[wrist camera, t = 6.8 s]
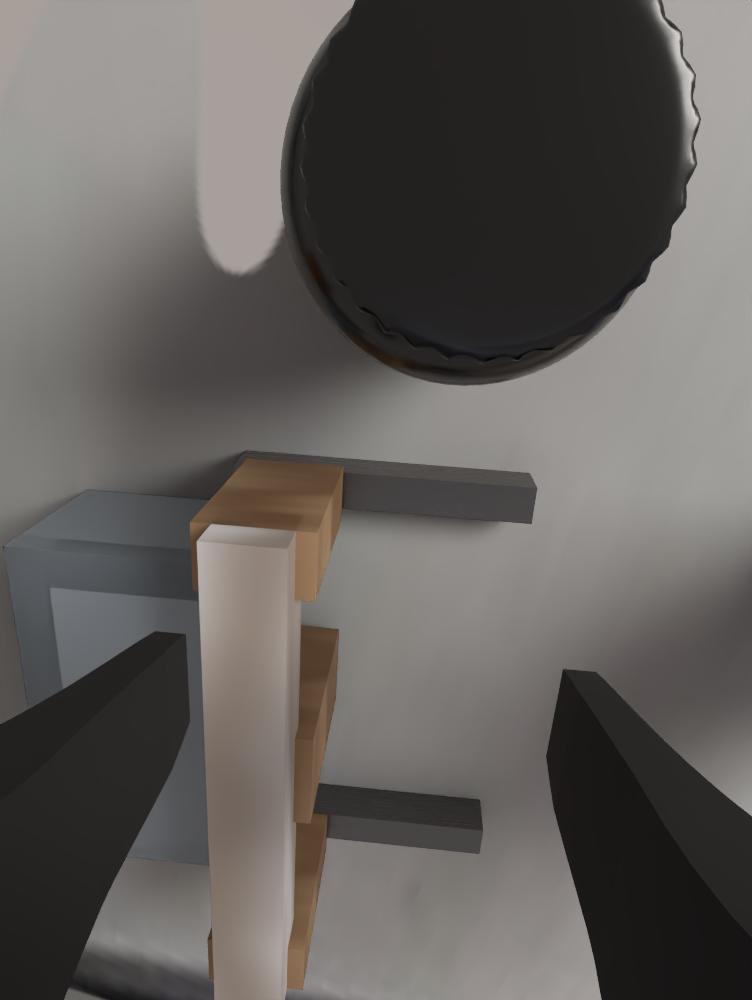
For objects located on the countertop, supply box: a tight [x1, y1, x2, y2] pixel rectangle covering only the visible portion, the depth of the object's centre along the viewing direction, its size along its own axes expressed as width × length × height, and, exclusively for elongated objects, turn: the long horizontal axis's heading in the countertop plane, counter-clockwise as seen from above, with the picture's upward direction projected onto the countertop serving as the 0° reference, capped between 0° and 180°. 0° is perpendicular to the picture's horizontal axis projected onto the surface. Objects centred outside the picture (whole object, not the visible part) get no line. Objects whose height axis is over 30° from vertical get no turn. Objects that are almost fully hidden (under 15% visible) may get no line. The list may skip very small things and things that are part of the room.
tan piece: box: [190, 459, 344, 1000], centre depth 20 cm, size 3×16×7 cm, turn 176°
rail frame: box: [234, 451, 537, 854], centre depth 23 cm, size 10×15×2 cm, turn 176°
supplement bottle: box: [281, 0, 701, 386], centre depth 13 cm, size 7×7×12 cm
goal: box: [3, 490, 209, 865], centre depth 22 cm, size 6×11×5 cm, turn 176°
